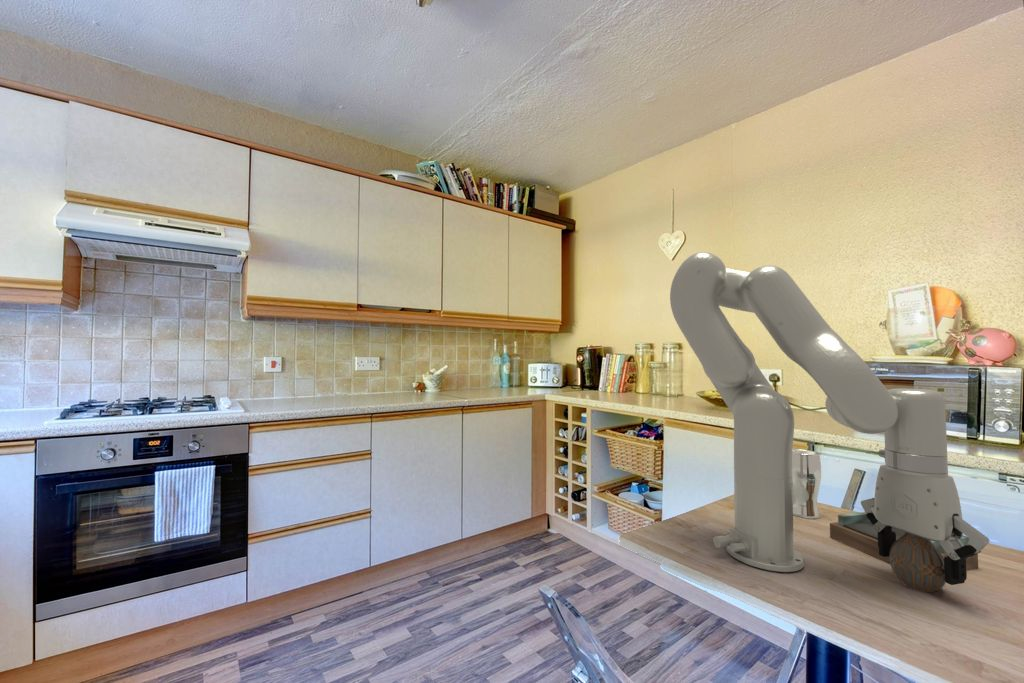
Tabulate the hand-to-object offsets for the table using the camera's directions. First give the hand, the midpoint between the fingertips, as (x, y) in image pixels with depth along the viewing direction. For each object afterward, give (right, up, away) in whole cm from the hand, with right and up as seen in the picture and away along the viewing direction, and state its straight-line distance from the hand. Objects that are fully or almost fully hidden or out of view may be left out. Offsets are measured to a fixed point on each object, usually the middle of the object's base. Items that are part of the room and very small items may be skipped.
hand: (919, 568), depth 69 cm
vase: (0, -3, 0) cm, 3 cm away
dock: (+8, -3, +12) cm, 15 cm away
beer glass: (+3, -4, +32) cm, 32 cm away
